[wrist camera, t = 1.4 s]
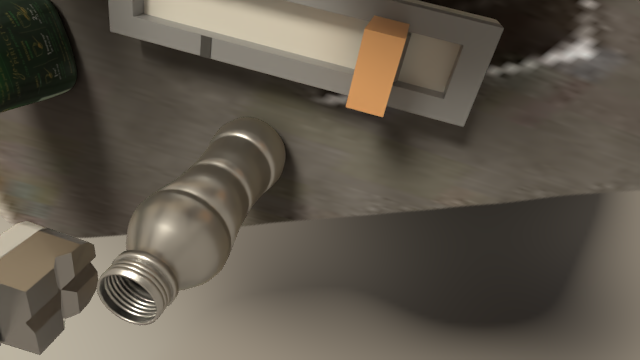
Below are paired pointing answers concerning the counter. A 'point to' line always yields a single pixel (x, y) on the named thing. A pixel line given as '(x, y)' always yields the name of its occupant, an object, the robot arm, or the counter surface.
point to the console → (327, 43)
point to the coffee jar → (33, 53)
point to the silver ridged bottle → (192, 222)
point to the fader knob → (378, 65)
